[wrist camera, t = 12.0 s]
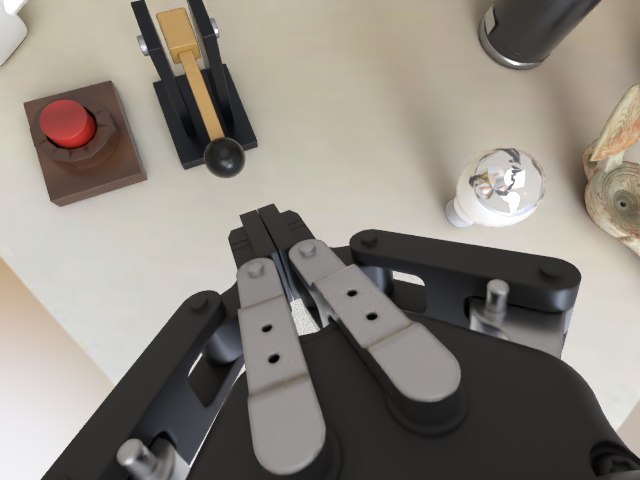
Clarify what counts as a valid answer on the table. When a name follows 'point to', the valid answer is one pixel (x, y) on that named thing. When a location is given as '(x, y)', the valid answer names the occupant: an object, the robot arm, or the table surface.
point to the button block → (88, 148)
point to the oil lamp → (616, 174)
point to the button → (67, 124)
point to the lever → (200, 94)
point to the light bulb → (497, 189)
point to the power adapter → (10, 27)
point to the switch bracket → (179, 94)
